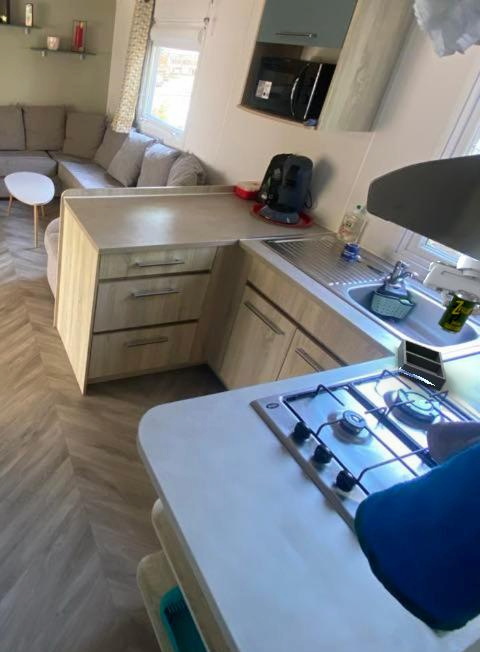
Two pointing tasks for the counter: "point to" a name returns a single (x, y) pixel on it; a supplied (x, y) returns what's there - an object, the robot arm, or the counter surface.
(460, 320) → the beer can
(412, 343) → the caddy
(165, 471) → the counter surface
